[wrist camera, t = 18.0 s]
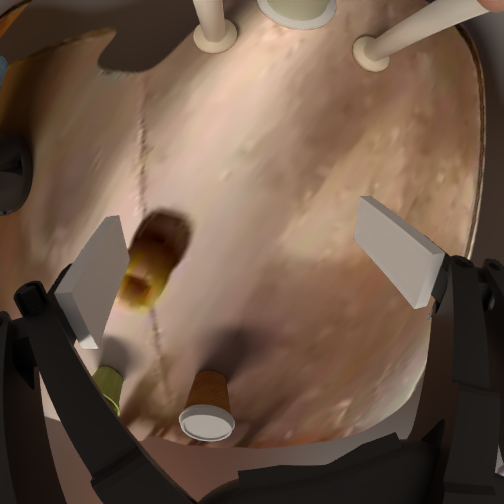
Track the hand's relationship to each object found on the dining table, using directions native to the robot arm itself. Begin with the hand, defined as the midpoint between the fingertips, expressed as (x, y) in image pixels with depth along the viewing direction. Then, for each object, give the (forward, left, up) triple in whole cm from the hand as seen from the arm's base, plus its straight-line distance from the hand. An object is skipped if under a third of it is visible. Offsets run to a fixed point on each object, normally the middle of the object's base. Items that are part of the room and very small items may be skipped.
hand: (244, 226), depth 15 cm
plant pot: (0, -48, -26) cm, 55 cm away
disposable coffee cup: (+17, -34, -26) cm, 46 cm away
